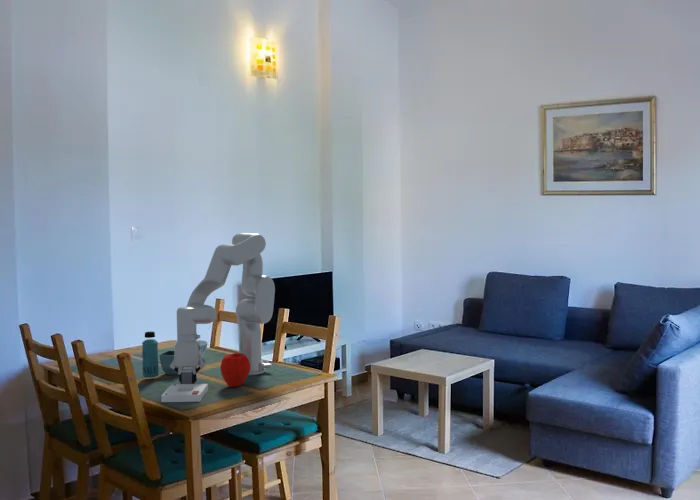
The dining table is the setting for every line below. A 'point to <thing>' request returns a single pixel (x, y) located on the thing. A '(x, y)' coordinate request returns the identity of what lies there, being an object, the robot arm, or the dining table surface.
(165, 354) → the flower pot
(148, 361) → the beverage bottle
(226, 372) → the apple
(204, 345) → the chinaware
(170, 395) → the socket plate
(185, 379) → the plug
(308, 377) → the dining table surface
